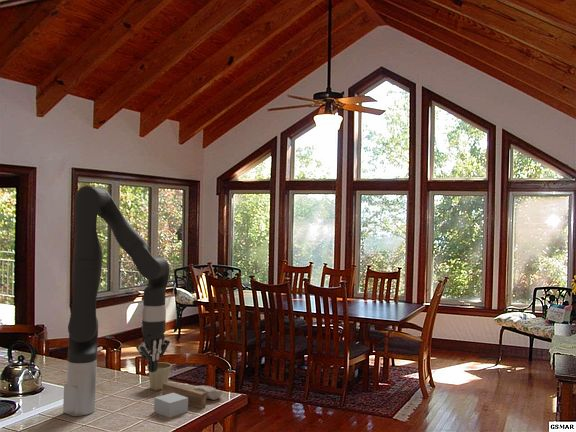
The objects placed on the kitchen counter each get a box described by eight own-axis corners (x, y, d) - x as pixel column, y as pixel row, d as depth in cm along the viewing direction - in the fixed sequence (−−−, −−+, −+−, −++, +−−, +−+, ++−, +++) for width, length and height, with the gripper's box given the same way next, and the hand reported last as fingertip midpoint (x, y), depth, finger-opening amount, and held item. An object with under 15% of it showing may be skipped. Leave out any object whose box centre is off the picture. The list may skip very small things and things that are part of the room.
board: (200, 408, 202) (201, 394, 202) (162, 397, 213) (162, 383, 213) (205, 406, 204) (206, 392, 204) (166, 395, 215) (167, 382, 215)
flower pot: (168, 392, 219) (168, 369, 219) (143, 391, 220) (143, 368, 219) (173, 384, 229) (174, 362, 229) (149, 383, 229) (150, 361, 229)
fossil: (203, 384, 221) (224, 378, 217) (207, 401, 219) (228, 395, 215) (188, 387, 213) (209, 381, 209) (192, 406, 212) (214, 399, 207)
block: (169, 418, 192) (169, 403, 192) (153, 412, 197) (154, 397, 197) (187, 412, 199) (188, 397, 199) (172, 406, 204) (173, 392, 204)
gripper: (146, 323, 183) (145, 378, 183) (176, 317, 194) (175, 369, 194) (130, 320, 187) (129, 374, 187) (160, 314, 198) (159, 365, 198)
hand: (152, 371), depth 191 cm, fingers closed
